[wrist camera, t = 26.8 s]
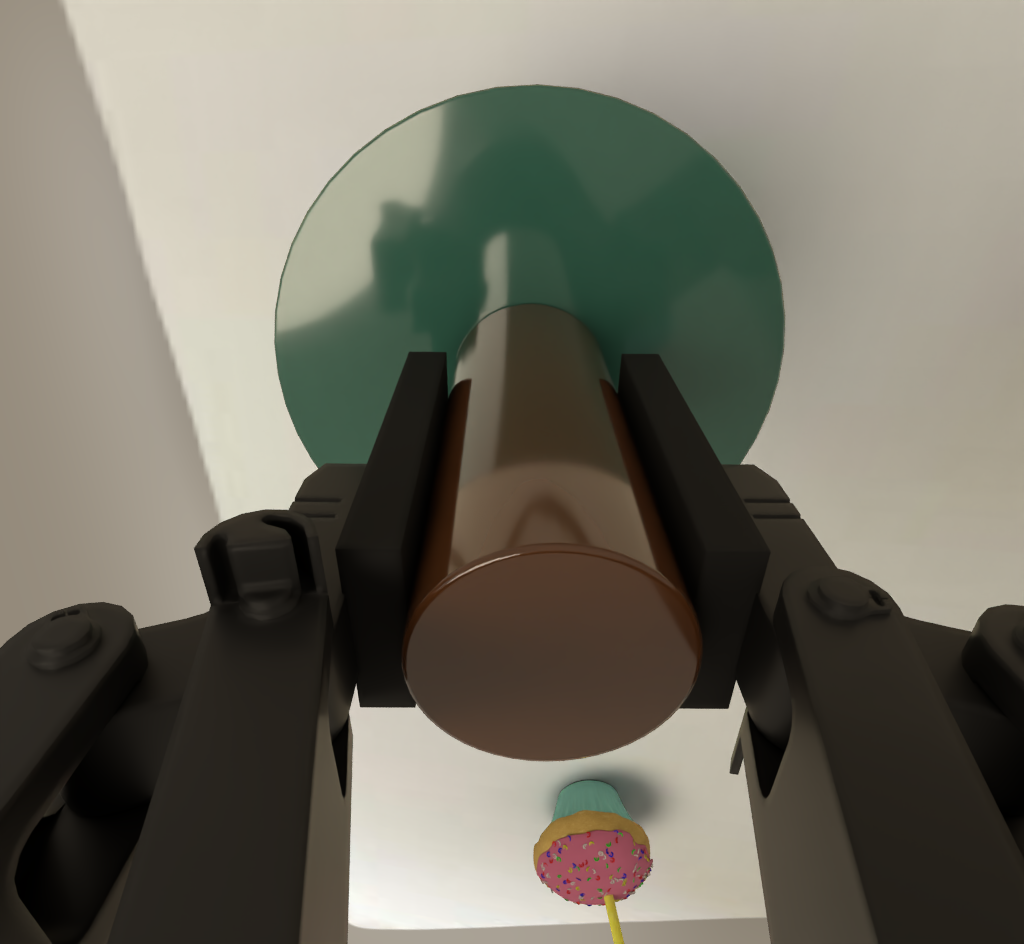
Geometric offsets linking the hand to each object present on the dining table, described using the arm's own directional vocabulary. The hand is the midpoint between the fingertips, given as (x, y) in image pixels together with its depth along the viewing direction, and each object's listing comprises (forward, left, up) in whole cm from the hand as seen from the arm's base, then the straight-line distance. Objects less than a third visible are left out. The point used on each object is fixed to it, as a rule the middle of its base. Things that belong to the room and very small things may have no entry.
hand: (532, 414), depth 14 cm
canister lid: (0, 0, -3) cm, 3 cm away
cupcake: (-42, -6, -18) cm, 46 cm away
